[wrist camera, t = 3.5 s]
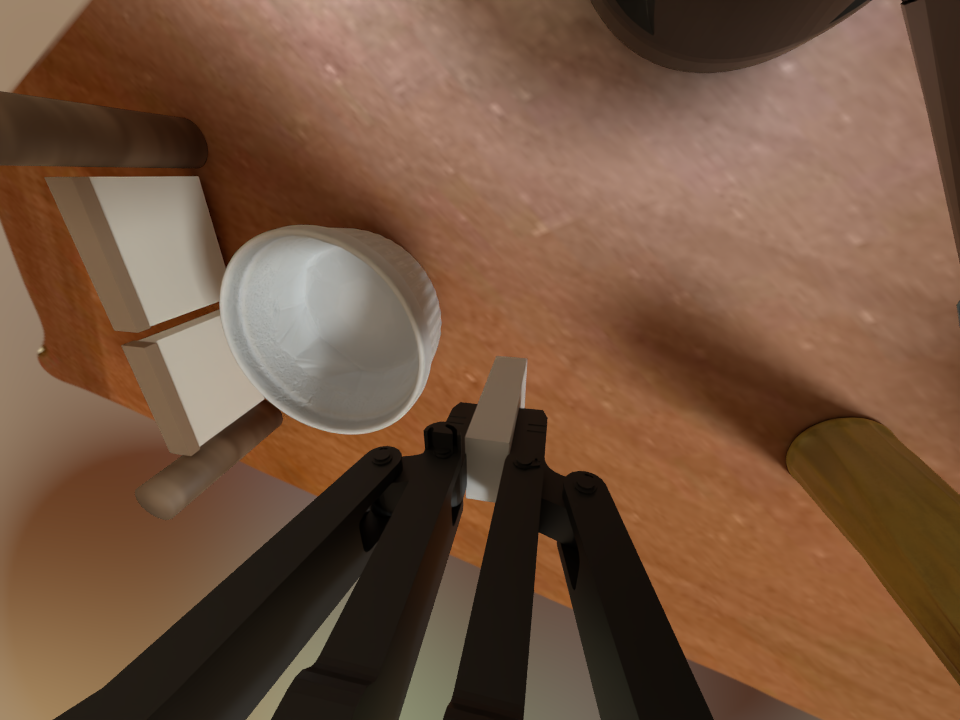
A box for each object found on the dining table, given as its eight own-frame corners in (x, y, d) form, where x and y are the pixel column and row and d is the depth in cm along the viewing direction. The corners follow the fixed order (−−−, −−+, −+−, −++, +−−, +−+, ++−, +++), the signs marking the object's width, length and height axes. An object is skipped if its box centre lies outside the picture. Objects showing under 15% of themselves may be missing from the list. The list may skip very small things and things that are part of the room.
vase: (777, 428, 26) (972, 668, 13) (891, 404, 24) (1255, 665, 11) (791, 494, 28) (974, 758, 15) (898, 478, 26) (1215, 771, 13)
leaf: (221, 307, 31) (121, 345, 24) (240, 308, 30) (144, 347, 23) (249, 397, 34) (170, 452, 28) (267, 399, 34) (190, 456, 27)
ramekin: (494, 313, 27) (471, 354, 21) (389, 413, 33) (348, 468, 26) (348, 169, 24) (274, 168, 18) (264, 305, 30) (188, 338, 24)
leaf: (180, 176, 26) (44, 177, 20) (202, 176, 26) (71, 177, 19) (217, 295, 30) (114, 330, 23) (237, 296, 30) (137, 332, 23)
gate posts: (161, 118, 26) (-89, 84, 16) (199, 116, 25) (-36, 80, 15) (258, 425, 36) (145, 515, 27) (285, 429, 36) (180, 522, 26)
